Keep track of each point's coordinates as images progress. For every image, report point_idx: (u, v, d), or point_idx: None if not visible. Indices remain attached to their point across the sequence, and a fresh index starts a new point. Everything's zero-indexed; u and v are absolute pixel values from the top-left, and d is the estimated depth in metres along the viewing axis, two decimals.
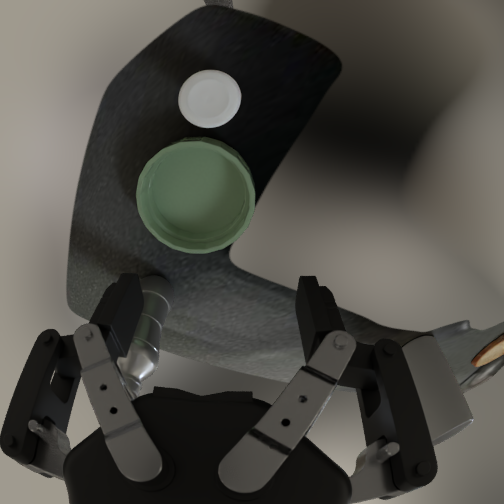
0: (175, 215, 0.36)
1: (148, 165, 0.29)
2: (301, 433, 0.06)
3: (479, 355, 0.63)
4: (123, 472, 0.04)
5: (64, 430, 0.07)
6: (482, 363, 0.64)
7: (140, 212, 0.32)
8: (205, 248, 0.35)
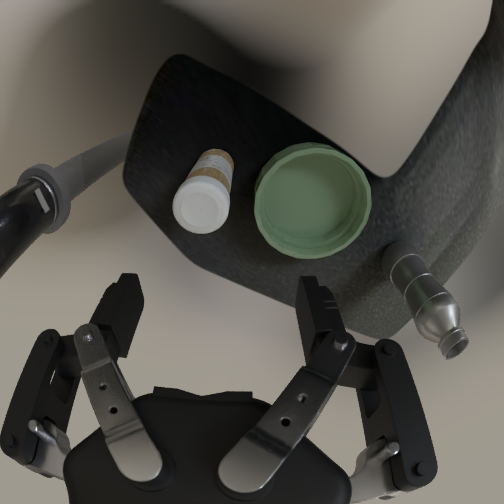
0: (329, 221, 0.36)
1: (271, 242, 0.34)
2: (301, 433, 0.06)
3: None
4: (123, 472, 0.04)
5: (64, 430, 0.07)
6: None
7: (315, 257, 0.35)
8: (366, 204, 0.32)
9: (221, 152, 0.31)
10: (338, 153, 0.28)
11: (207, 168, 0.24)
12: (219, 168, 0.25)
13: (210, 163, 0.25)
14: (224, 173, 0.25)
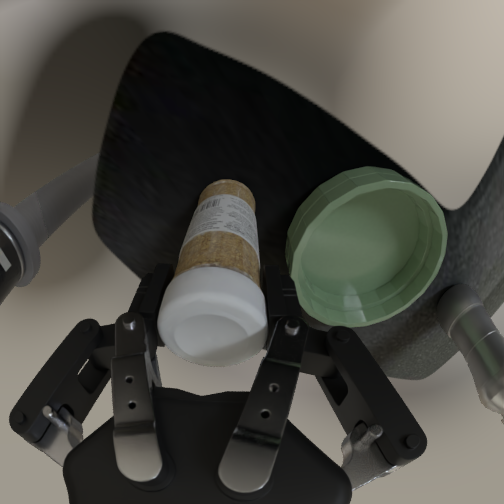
0: (384, 272, 0.25)
1: (313, 314, 0.23)
2: (283, 421, 0.06)
3: None
4: (119, 466, 0.04)
5: (82, 419, 0.08)
6: None
7: (368, 324, 0.24)
8: (439, 254, 0.20)
9: (236, 185, 0.20)
10: (416, 187, 0.17)
11: (217, 236, 0.13)
12: (238, 230, 0.14)
13: (221, 219, 0.15)
14: (249, 240, 0.14)
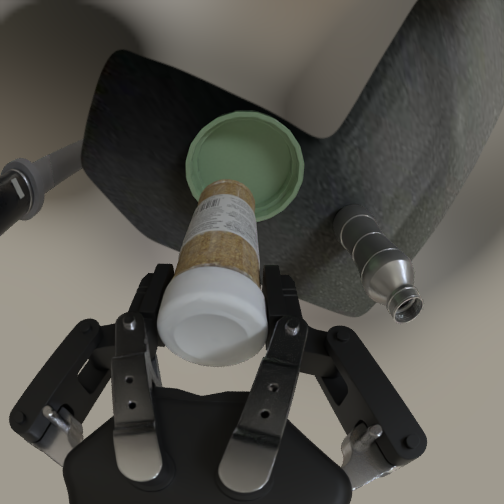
0: (268, 186, 0.37)
1: None
2: (283, 421, 0.06)
3: None
4: (119, 466, 0.04)
5: (82, 419, 0.08)
6: None
7: None
8: (299, 163, 0.32)
9: (235, 185, 0.20)
10: (259, 114, 0.29)
11: (217, 236, 0.13)
12: (238, 230, 0.14)
13: (221, 219, 0.15)
14: (248, 239, 0.14)
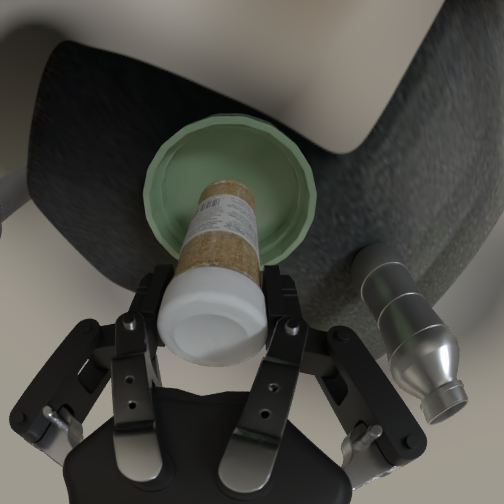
0: (264, 222, 0.27)
1: (178, 256, 0.25)
2: (284, 421, 0.06)
3: None
4: (119, 466, 0.04)
5: (82, 419, 0.08)
6: None
7: None
8: (309, 193, 0.22)
9: (236, 185, 0.20)
10: (249, 120, 0.19)
11: (217, 236, 0.13)
12: (238, 230, 0.14)
13: (221, 219, 0.15)
14: (249, 239, 0.14)
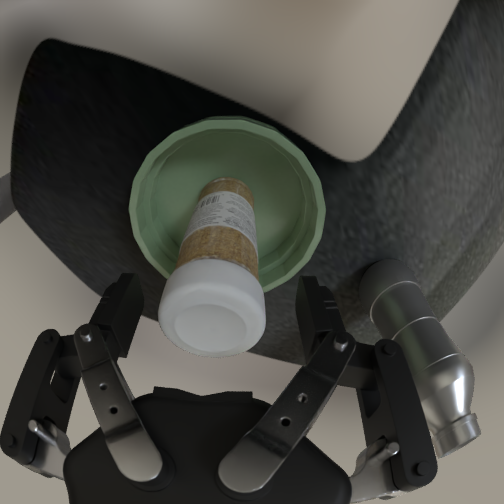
0: (266, 238, 0.24)
1: None
2: (301, 433, 0.06)
3: None
4: (123, 472, 0.04)
5: (64, 430, 0.07)
6: None
7: None
8: (317, 209, 0.19)
9: (235, 183, 0.20)
10: (249, 124, 0.16)
11: (216, 231, 0.14)
12: (237, 225, 0.15)
13: (221, 215, 0.15)
14: (247, 234, 0.15)
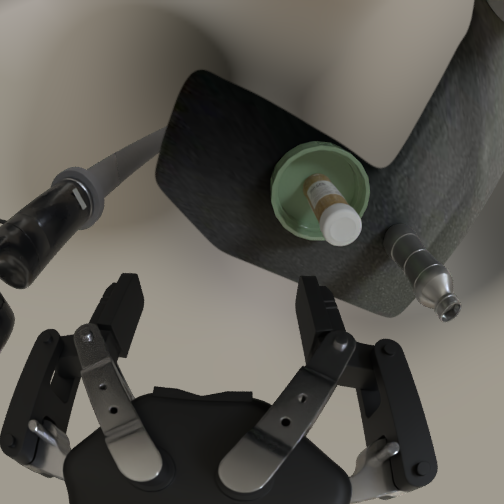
0: None
1: (287, 227, 0.40)
2: (301, 433, 0.06)
3: None
4: (123, 472, 0.04)
5: (64, 430, 0.07)
6: None
7: (324, 238, 0.41)
8: (365, 191, 0.37)
9: (325, 177, 0.38)
10: (339, 149, 0.34)
11: (335, 195, 0.31)
12: (340, 194, 0.32)
13: (332, 190, 0.33)
14: (344, 198, 0.32)
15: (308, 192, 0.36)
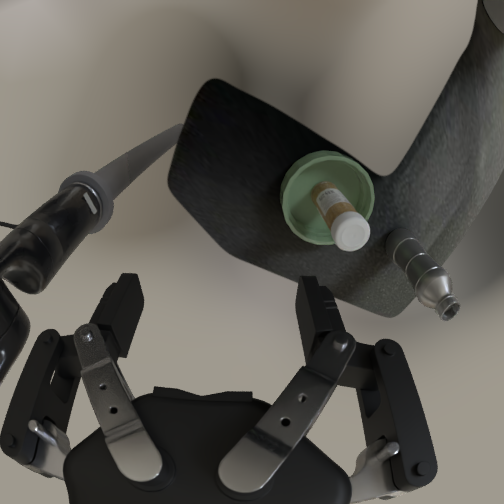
0: None
1: (296, 232, 0.42)
2: (301, 433, 0.06)
3: None
4: (123, 472, 0.04)
5: (64, 430, 0.07)
6: None
7: (331, 243, 0.43)
8: (370, 198, 0.39)
9: (332, 184, 0.40)
10: (347, 159, 0.36)
11: (344, 203, 0.33)
12: (349, 202, 0.34)
13: (341, 198, 0.35)
14: (352, 206, 0.34)
15: (317, 199, 0.38)
